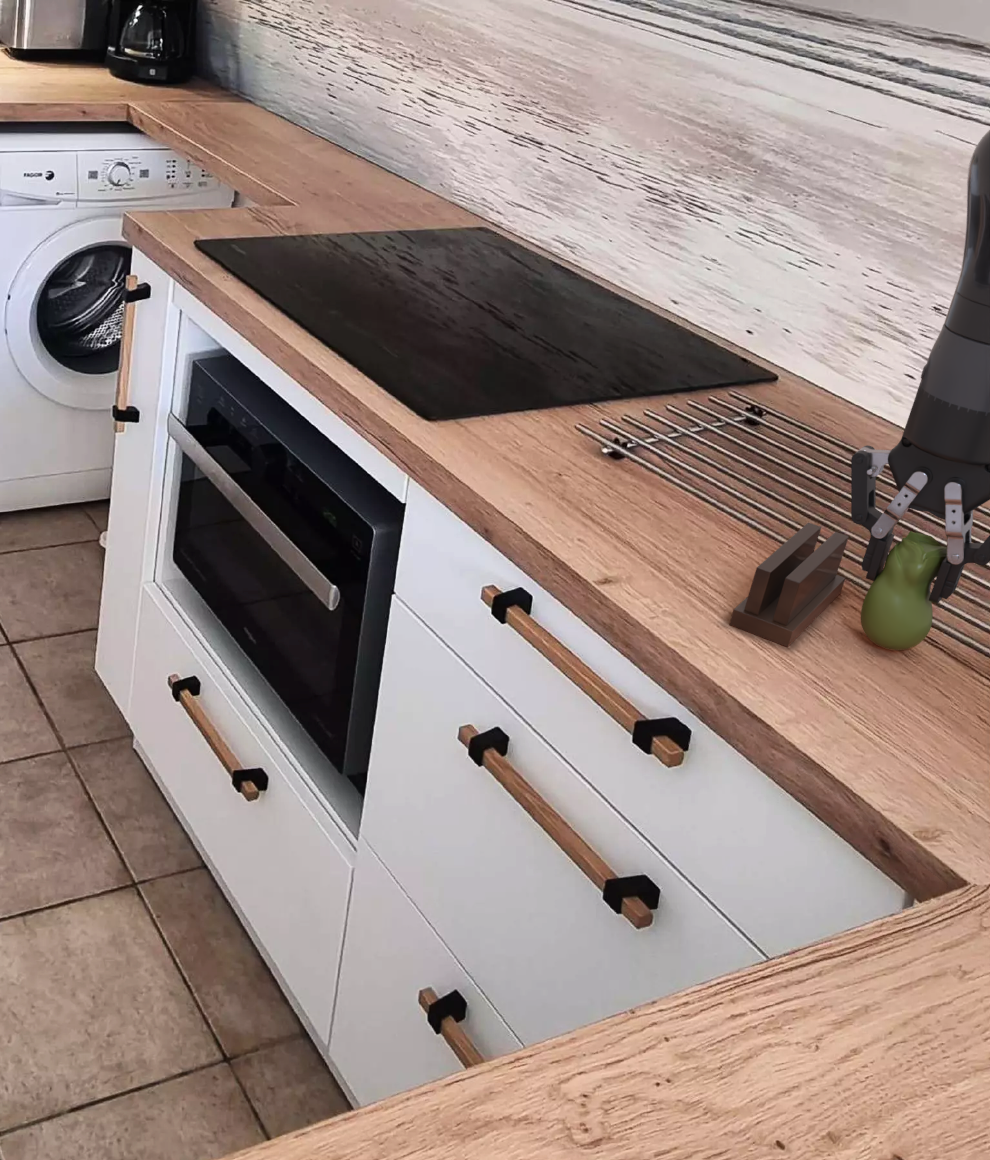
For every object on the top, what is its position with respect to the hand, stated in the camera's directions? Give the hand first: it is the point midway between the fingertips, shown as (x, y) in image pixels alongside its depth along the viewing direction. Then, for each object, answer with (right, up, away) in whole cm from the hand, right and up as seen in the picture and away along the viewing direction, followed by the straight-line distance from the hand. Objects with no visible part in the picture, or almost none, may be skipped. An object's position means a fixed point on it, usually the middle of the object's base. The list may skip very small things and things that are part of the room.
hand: (903, 587), depth 124 cm
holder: (-7, -2, +7) cm, 10 cm away
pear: (0, -5, +2) cm, 6 cm away
